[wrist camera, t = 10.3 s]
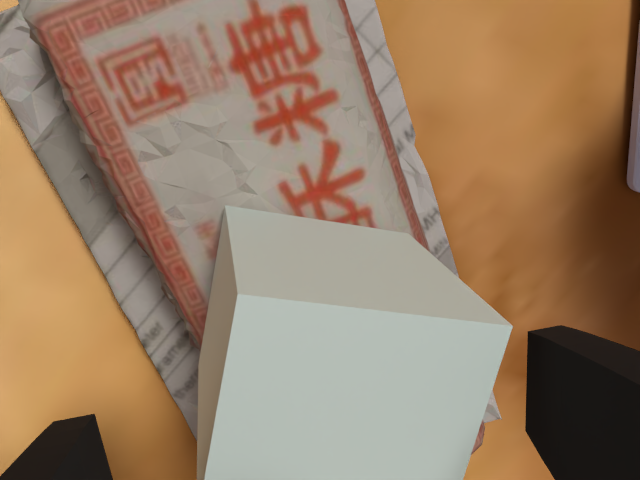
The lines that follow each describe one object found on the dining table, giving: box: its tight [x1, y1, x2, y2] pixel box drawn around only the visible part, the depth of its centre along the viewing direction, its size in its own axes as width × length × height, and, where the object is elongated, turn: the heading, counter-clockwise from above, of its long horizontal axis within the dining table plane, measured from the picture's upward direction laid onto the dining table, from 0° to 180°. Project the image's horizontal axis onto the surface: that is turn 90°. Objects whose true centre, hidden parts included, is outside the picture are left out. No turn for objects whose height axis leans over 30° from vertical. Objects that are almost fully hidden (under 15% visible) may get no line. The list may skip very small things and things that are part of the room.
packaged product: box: [0, 0, 502, 455], centre depth 16 cm, size 18×5×10 cm
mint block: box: [197, 205, 513, 480], centre depth 11 cm, size 4×4×5 cm
